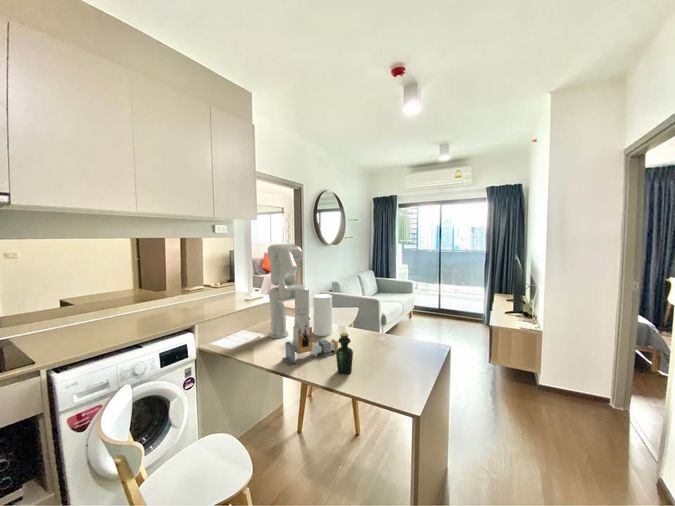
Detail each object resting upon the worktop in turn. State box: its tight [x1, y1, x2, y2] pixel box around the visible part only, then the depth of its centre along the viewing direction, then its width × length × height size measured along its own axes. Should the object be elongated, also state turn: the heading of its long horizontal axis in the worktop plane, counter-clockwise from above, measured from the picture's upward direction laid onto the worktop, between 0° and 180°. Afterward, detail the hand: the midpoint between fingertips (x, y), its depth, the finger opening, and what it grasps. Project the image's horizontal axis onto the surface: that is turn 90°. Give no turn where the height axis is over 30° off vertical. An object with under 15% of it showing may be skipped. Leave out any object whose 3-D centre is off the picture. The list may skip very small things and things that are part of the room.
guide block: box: [317, 339, 333, 358], centre depth 156 cm, size 9×5×6 cm, turn 31°
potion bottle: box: [335, 332, 354, 376], centre depth 134 cm, size 8×8×18 cm
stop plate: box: [281, 341, 296, 367], centre depth 145 cm, size 8×4×9 cm, turn 31°
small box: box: [292, 325, 313, 355], centre depth 149 cm, size 8×6×13 cm
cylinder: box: [312, 293, 333, 337], centre depth 189 cm, size 12×12×25 cm
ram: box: [310, 338, 339, 358], centre depth 156 cm, size 6×14×6 cm, turn 121°
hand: (302, 344), depth 149 cm, fingers closed on small box, 6 cm apart
